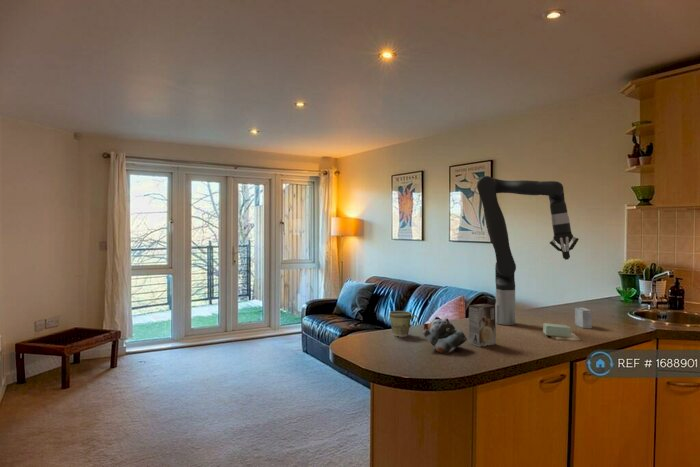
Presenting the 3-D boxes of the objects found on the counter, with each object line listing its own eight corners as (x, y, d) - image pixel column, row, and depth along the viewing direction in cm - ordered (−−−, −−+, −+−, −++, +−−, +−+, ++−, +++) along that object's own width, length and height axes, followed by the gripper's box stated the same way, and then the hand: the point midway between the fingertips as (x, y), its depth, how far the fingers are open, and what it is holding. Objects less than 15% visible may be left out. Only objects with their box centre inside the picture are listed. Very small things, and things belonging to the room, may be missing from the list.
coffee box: (484, 341, 184) (484, 303, 183) (496, 344, 178) (496, 305, 178) (468, 343, 179) (468, 304, 179) (479, 347, 174) (479, 307, 174)
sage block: (546, 325, 189) (571, 328, 187) (543, 322, 195) (567, 325, 193) (545, 334, 189) (570, 337, 187) (542, 331, 195) (566, 334, 193)
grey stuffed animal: (444, 356, 161) (427, 321, 165) (429, 360, 172) (413, 327, 175) (473, 340, 168) (456, 307, 171) (457, 345, 178) (441, 314, 181)
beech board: (553, 339, 186) (553, 337, 186) (546, 333, 197) (546, 330, 197) (581, 340, 183) (581, 338, 183) (572, 334, 195) (572, 332, 195)
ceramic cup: (386, 336, 191) (386, 314, 191) (392, 331, 200) (392, 310, 200) (415, 339, 186) (415, 316, 186) (420, 334, 196) (420, 312, 195)
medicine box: (592, 328, 207) (592, 310, 207) (582, 328, 207) (582, 310, 207) (583, 325, 215) (583, 307, 215) (574, 324, 215) (574, 307, 215)
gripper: (546, 225, 204) (552, 261, 203) (577, 220, 200) (584, 258, 199) (544, 225, 211) (550, 260, 210) (574, 221, 207) (580, 257, 206)
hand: (566, 259), depth 204 cm, fingers closed
